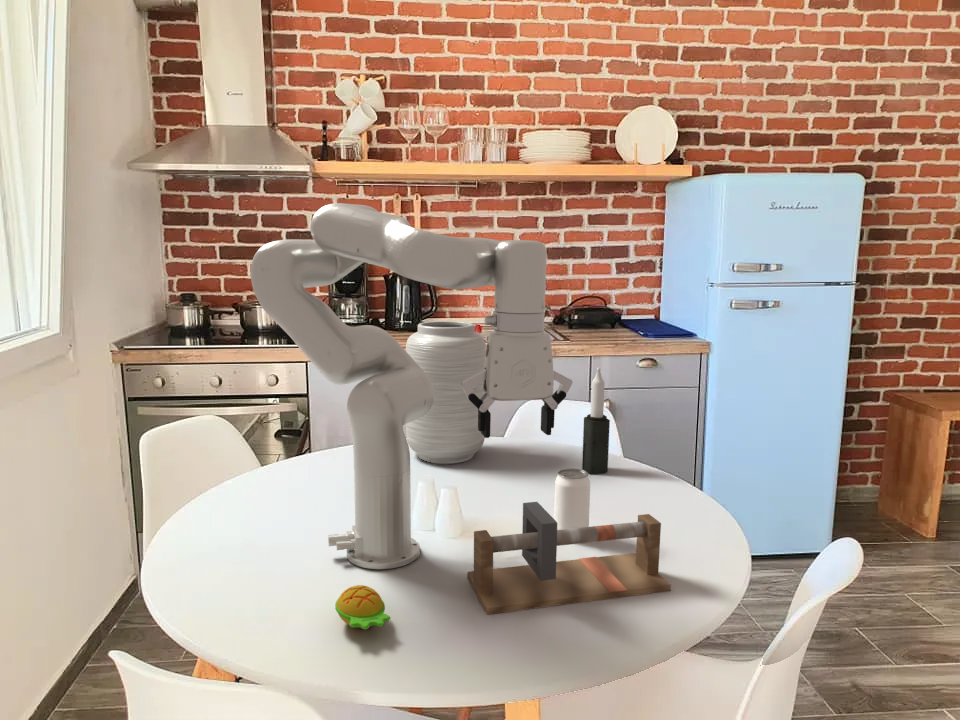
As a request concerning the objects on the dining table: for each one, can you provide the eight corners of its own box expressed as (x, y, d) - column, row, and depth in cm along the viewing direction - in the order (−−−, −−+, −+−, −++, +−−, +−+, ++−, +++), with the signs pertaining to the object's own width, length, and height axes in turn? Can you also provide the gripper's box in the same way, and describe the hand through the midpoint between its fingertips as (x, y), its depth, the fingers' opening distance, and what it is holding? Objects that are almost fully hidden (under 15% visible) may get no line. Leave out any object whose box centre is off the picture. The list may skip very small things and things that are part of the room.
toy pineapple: (374, 605, 108) (374, 572, 107) (398, 638, 99) (397, 602, 98) (329, 616, 105) (328, 581, 104) (349, 651, 96) (348, 613, 95)
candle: (580, 468, 174) (584, 366, 169) (599, 466, 175) (603, 365, 171) (589, 474, 169) (593, 370, 165) (609, 473, 170) (613, 369, 166)
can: (587, 543, 131) (589, 480, 129) (551, 540, 132) (553, 477, 130) (589, 529, 137) (591, 469, 135) (555, 526, 138) (557, 466, 136)
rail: (487, 614, 106) (487, 552, 104) (467, 577, 117) (467, 521, 115) (670, 590, 113) (673, 532, 112) (635, 558, 125) (637, 505, 123)
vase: (452, 440, 197) (453, 317, 191) (501, 457, 181) (504, 325, 176) (390, 453, 184) (388, 323, 178) (437, 473, 169) (437, 331, 163)
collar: (540, 580, 109) (542, 524, 107) (521, 555, 117) (523, 502, 116) (555, 578, 109) (557, 522, 108) (535, 554, 118) (537, 501, 116)
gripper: (468, 327, 102) (466, 443, 105) (582, 326, 106) (577, 438, 109) (457, 321, 109) (455, 430, 112) (565, 320, 113) (560, 425, 116)
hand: (515, 434), depth 111 cm, fingers open, 9 cm apart
